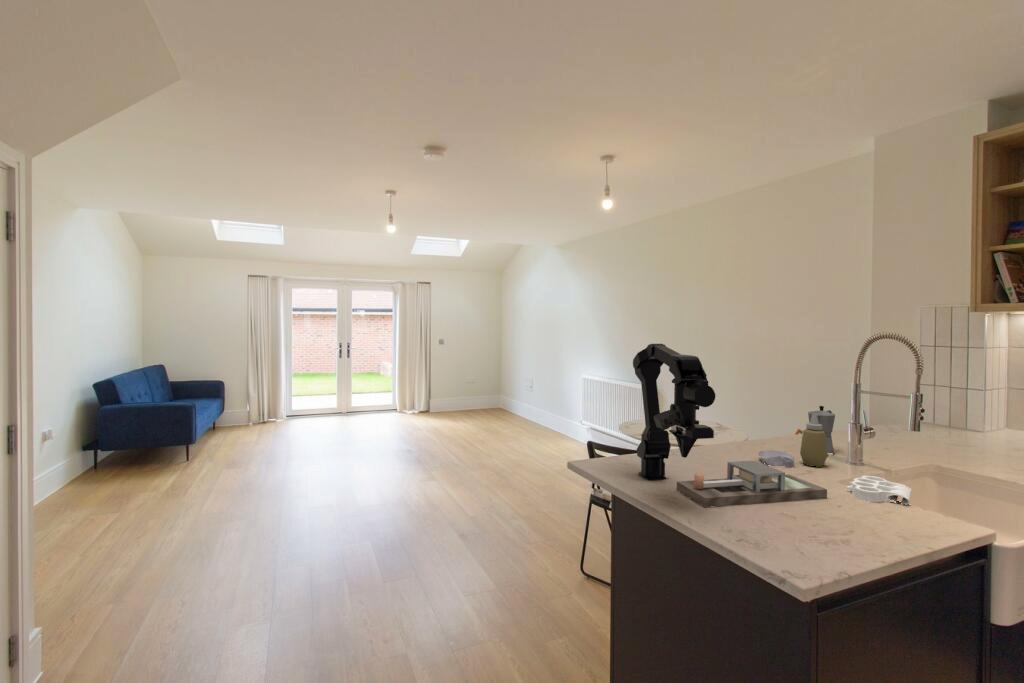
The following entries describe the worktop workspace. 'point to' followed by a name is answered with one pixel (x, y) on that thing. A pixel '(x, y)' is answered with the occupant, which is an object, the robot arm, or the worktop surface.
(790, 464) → the stone block
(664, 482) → the worktop surface
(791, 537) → the worktop surface
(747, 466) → the tunnel
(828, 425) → the coffeepot
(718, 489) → the deck
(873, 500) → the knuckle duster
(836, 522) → the worktop surface
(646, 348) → the robot arm
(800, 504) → the worktop surface
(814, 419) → the squeeze bottle
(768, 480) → the block
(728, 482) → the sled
